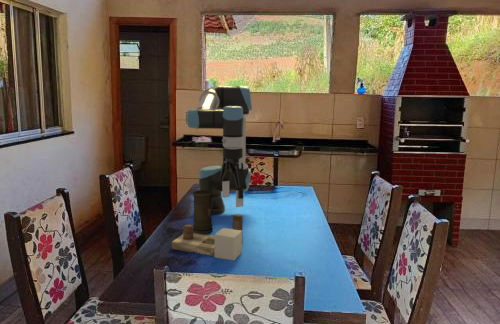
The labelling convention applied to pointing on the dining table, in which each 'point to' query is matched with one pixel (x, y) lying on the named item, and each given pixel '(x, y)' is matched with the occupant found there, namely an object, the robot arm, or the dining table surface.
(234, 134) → the robot arm
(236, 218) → the peg
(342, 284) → the dining table surface
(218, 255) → the block
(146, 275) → the dining table surface
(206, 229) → the container
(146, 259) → the dining table surface
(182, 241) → the board
